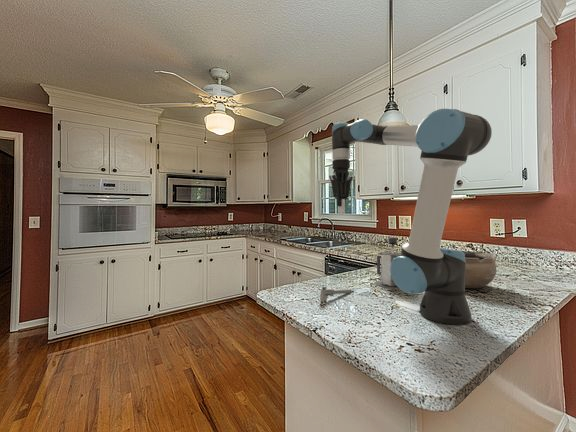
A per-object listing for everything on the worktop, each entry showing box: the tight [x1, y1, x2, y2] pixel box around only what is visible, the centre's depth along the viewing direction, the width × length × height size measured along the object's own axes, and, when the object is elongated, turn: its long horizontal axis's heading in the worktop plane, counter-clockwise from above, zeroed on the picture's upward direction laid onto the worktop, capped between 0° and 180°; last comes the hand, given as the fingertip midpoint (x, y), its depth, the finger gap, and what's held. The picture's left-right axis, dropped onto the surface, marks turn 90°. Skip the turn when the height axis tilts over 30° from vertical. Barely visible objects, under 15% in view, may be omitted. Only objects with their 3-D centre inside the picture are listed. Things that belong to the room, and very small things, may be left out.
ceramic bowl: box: [461, 250, 498, 289], centre depth 125 cm, size 22×22×15 cm
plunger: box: [388, 236, 398, 254], centre depth 126 cm, size 8×8×18 cm
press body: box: [376, 250, 401, 287], centre depth 127 cm, size 13×10×15 cm
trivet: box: [374, 279, 402, 291], centre depth 126 cm, size 16×16×1 cm
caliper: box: [319, 286, 354, 303], centre depth 112 cm, size 20×1×6 cm, turn 131°
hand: (341, 213), depth 118 cm, fingers closed
